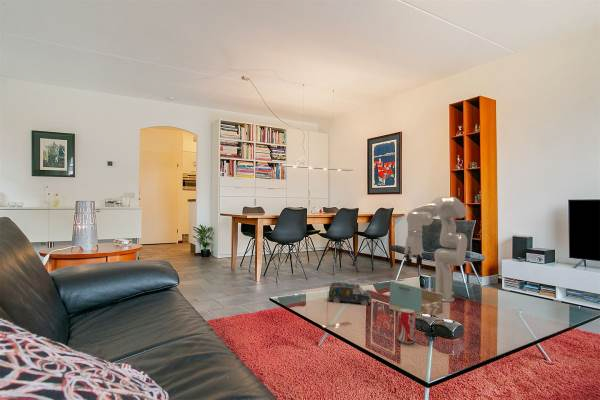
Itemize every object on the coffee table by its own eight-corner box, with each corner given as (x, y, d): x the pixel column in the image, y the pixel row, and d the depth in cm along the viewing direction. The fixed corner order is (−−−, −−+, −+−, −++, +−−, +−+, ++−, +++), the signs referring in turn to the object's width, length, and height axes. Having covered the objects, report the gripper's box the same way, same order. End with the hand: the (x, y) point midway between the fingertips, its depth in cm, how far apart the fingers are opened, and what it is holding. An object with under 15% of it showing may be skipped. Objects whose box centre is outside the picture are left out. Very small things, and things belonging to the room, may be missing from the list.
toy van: (370, 306, 188) (370, 288, 188) (327, 302, 194) (327, 285, 194) (370, 301, 199) (371, 284, 199) (330, 297, 204) (330, 281, 204)
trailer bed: (410, 303, 196) (410, 286, 196) (442, 312, 180) (442, 293, 180) (389, 308, 184) (389, 290, 184) (421, 318, 168) (421, 299, 168)
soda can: (394, 337, 142) (395, 307, 142) (410, 337, 143) (411, 307, 143) (401, 344, 135) (401, 312, 135) (418, 344, 136) (418, 312, 136)
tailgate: (390, 302, 184) (391, 281, 184) (421, 311, 169) (421, 288, 169) (388, 303, 183) (389, 281, 183) (419, 312, 168) (419, 288, 168)
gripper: (417, 233, 190) (417, 263, 190) (399, 234, 180) (398, 265, 179) (429, 234, 184) (429, 265, 184) (411, 235, 174) (410, 267, 173)
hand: (414, 265), depth 181 cm, fingers open, 9 cm apart
